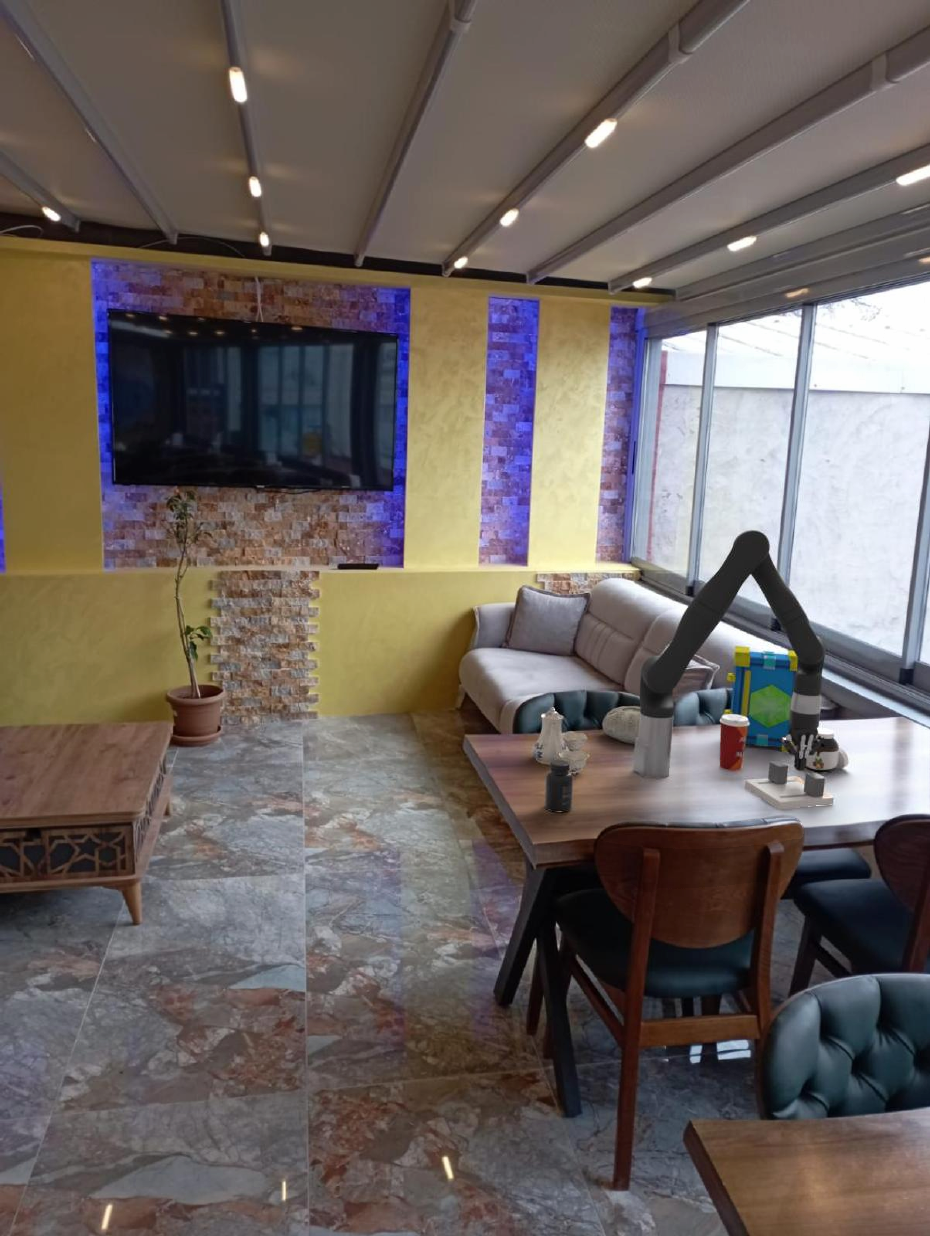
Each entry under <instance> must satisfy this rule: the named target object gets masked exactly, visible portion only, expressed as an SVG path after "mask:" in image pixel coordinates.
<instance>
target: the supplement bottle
mask: <svg viewBox="0 0 930 1236" xmlns="http://www.w3.org/2000/svg"><path fill="white" fill-rule="evenodd" d="M569 766H570V764H569V762H568V761H565V760H553V761H551V762H550V765H549V770H550V771H548V772H547V773H546V775H545V790H544V791H545V792H544V793H545V794H544V796H545V797H544V807H545V809H546V808H547V809H546V810H548V809H550V810H552V811H567V812H569V811H570V809H572V808H573V790H574V788H573V787H574V776H573V774H571V773H570V772H569V770H570V768H569ZM568 810H569V811H568ZM552 811H551V812H552Z"/></svg>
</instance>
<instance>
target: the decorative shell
mask: <svg viewBox="0 0 930 1236" xmlns="http://www.w3.org/2000/svg"><path fill="white" fill-rule="evenodd" d="M639 721H640V706H636V705H633V706H632V705H631V706H619V707H615V708H612V709H611V710H610V711H608V712H607V714H605V716H604V718H603V720H602V724H601V725H602V730H603V732H604V733H605V734H606V735H607V736H609V737H611V738H612V739H616V740H618V741H620V742H623V743H627V744H631V745H632V744H633V745H635V738H638V734H639Z"/></svg>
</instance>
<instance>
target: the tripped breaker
mask: <svg viewBox="0 0 930 1236" xmlns="http://www.w3.org/2000/svg"><path fill="white" fill-rule="evenodd" d="M788 771H789V765H787V764H785V763H784V762H782V761H780V760H774V761H773V760H772V761H769V767H768V775H767V778H768V779H769V780H771V781H772V782H774V783H776V784H787V777H788Z"/></svg>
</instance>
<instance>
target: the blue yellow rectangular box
mask: <svg viewBox="0 0 930 1236" xmlns="http://www.w3.org/2000/svg"><path fill="white" fill-rule="evenodd" d="M787 652H788V653H787V654H786V653H785V654H784V653H775V651H769V650H768V651H767V650H762V652H759V651H750V646H741V645H740V646H738V645H734V655H733V661H734V667H733V669H734V670H733V672H729V673H727V678H726V681H728V682H729V683H732V692H731V701H730V702H731V703H730V704H731V705H730V708H729V709H724V711H723V715H725V714H736V715H741V716H745V717H747V718H748V722H749V725H748V729H747V735H746V742H745V744H747V745H749V744H750V745H755V746H757V747H758V746H759V747H778V748H781V752H782V753H788V751H787V750H786V748H785V747H784V745H783V744H782V742H781V741H780V739H781V738H782V737H783V738H785V737H786V736H787V735H788V731H789V729H790V723H789V720H790V709H791V699H792V695H793V687H794V678H795V674H796V671H797V659H798V657H797V656H796V654H795V652H794V650H788V651H787ZM791 741H792V740H791ZM792 746H793V742H792Z"/></svg>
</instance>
